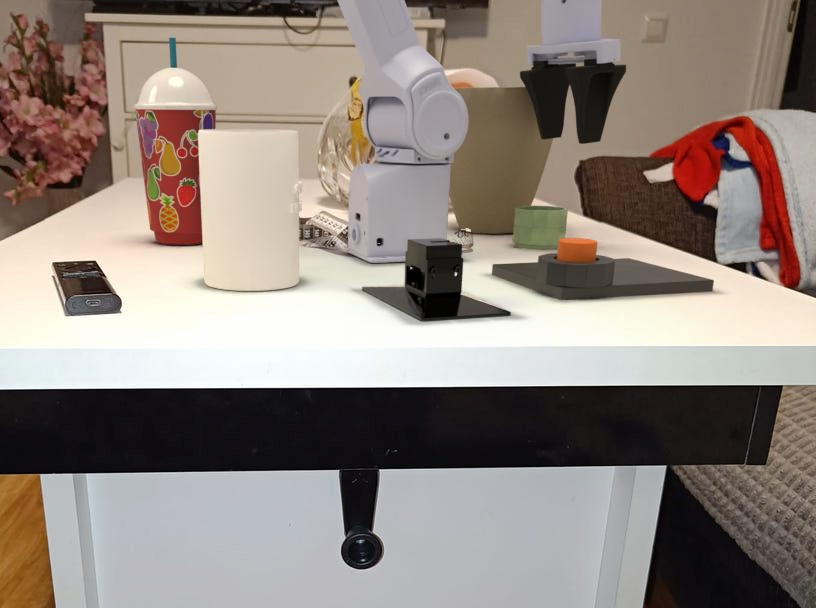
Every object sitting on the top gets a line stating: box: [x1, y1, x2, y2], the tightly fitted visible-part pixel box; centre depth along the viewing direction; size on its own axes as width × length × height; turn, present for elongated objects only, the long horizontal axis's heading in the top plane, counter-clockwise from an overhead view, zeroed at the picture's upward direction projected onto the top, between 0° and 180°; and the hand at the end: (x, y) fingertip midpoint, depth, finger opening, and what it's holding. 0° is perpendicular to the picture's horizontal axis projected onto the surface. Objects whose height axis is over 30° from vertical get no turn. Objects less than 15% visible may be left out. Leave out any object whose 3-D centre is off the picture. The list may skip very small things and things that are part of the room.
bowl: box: [512, 205, 569, 251], centre depth 99 cm, size 5×5×4 cm
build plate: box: [361, 238, 512, 323], centre depth 70 cm, size 12×7×5 cm, turn 18°
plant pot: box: [449, 86, 554, 235], centre depth 109 cm, size 15×15×16 cm
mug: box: [198, 128, 303, 292], centre depth 78 cm, size 8×12×12 cm
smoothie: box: [133, 37, 218, 246], centre depth 97 cm, size 8×8×20 cm
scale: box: [491, 252, 715, 301], centre depth 78 cm, size 14×12×3 cm
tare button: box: [556, 237, 599, 262], centre depth 74 cm, size 3×3×2 cm
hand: (569, 140), depth 96 cm, fingers open, 7 cm apart
